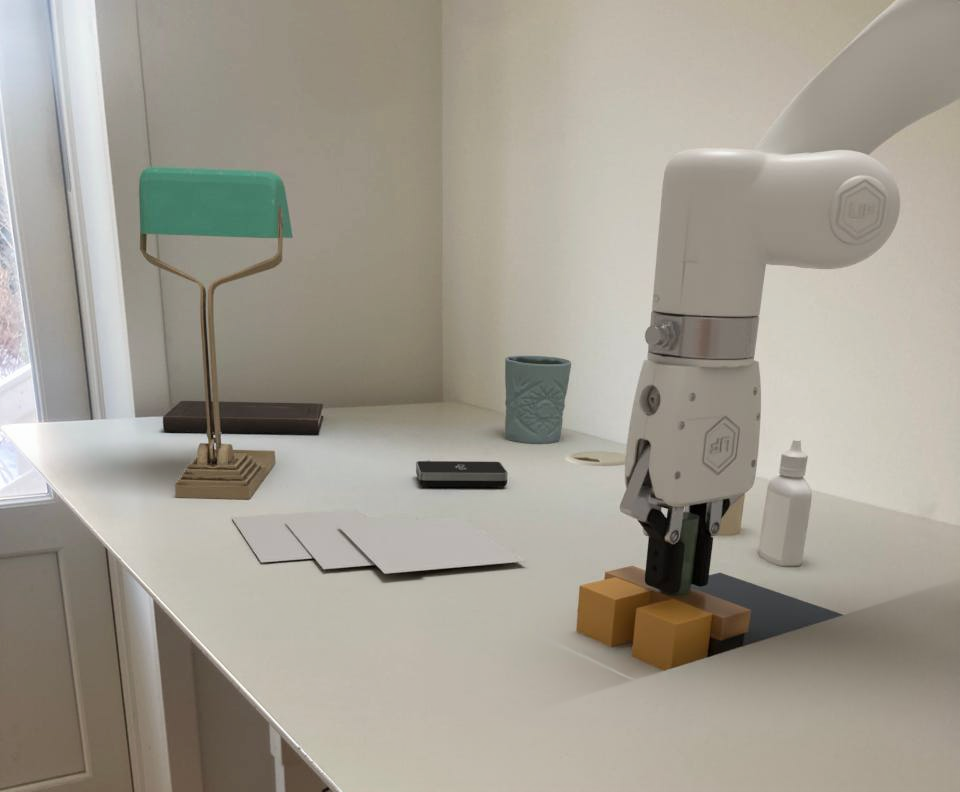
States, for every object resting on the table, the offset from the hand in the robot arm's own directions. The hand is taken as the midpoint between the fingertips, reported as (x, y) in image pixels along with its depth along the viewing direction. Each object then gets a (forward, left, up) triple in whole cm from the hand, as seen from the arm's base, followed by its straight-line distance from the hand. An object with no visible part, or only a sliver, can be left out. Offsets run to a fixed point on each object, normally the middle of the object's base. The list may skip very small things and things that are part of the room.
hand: (676, 583), depth 80 cm
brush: (0, 0, -4) cm, 4 cm away
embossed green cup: (-46, -71, -5) cm, 84 cm away
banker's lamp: (+6, -68, -5) cm, 68 cm away
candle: (-29, -20, -5) cm, 35 cm away
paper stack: (+6, -35, -5) cm, 36 cm away
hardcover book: (-12, -101, -5) cm, 102 cm away
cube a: (+4, +3, -5) cm, 7 cm away
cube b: (+4, -3, -5) cm, 7 cm away
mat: (-10, 0, -5) cm, 11 cm away
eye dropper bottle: (-26, -9, -5) cm, 28 cm away
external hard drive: (-18, -52, -5) cm, 55 cm away
